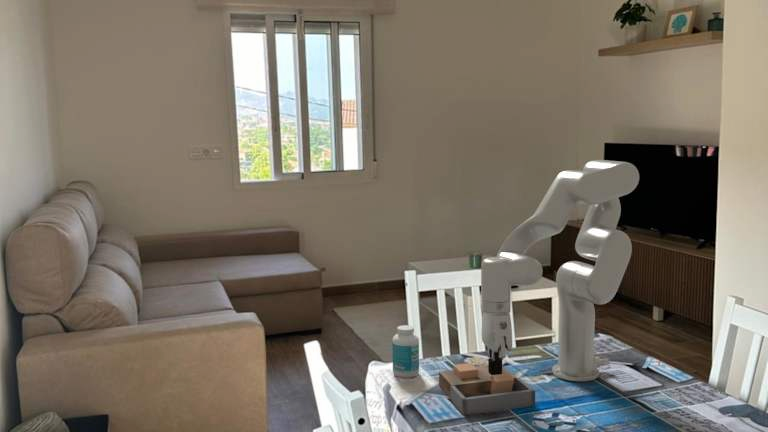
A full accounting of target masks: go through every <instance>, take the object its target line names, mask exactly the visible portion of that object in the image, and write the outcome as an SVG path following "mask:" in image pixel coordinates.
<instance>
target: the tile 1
mask: <svg viewBox="0 0 768 432" xmlns="http://www.w3.org/2000/svg"><path fill="white" fill-rule="evenodd" d="M476 367H477V366H475V365H474V364H473V363H471V362H467V363H460V364H459V363H458V364H453V369H452V370H453V372H454V373H455V374H456V375H457V376H458V377H459V378H460V379H463V378H472V377H478V369H477V368H476Z"/></svg>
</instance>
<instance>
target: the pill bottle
mask: <svg viewBox="0 0 768 432" xmlns="http://www.w3.org/2000/svg"><path fill="white" fill-rule="evenodd" d="M396 332H397V333H396V334H395V335H394V336H393V337H392V373H393V375H394V376H396V377H398V378H404V379H407V378H408V379H409V378H413V377H416V376H418V375H419V373H420V341H419V340H420V338H419V337H418V335H416V334H415V333H414V332H415V327H414V326H412V325H405V324H404V325H399V326H397V328H396Z"/></svg>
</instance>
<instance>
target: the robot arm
mask: <svg viewBox="0 0 768 432" xmlns="http://www.w3.org/2000/svg"><path fill="white" fill-rule="evenodd" d="M639 181H640V173H639V170H638V169H637V166H635V165H634V164H633V163H631V162H627V161H619V160H618V161H617V160H608V159H606V160H605V159H595V160H594V159H593V160H590V161H588V162H586V164H584V166H583V169H582V170H573V169H571V170H570V169H567V170H563V171H561V172H559V173H558V174H557V176H556V177H555V178H554V179H553V181H552V183H551V185H550V186H549V188H548V190H547V192H546V194H545V195H544V197H543V198H542V200H541V202H540V203H539V205H538V206H537V208H536V210H535V212H534V214H533V215H531V216H530V217H529V218H528V219H526V220H525V221H523V222H522V223H521V224H520V225H519V226H517V227H516V228H515V229H514V230H513V231H511V232H510V234H508V236H507V237H506V238H505V241H504V242H503V243H502V245H501V247H500V248H499V250H498V252H497V255H496V256H494V257H493V256H491V257H487V258H484V259H483V260H482V261H481V264H480V265H481V268H480V272H481V273H480V282H481V283H480V300H481V301H480V311H481V313H482V315H481V316H482V317H481V341H482V343H483V344H484V345H485V346H486V348H487V358H488V365H487V366H488V372H489V373H490V374H491V375H499V374H502V365H503V360H504V358H506V357H507V351H508V352H511V351H512V350H513V329H512V327H513V326H512V320H511V319H512V318H511V302H512V301H511V299H512V298H511V295H512V290H511V289H512V286H523V287H527V286H532V285H535V284H537V283H538V282H539V281H540V280H541V278H542V276H543V271H544V270H543V266H542V264H541V262H540V261H538V260H537V259H536V258H534V257H532V256H528V255H525V254H526V252H527V251H528V250H529V249H530V248H531V246H533V245H534V244H536V243H537V242H539V241H541V240H543V239H548V238H550V237H552V236H555V235H558V234H561V232H562V231H563V230H564V229H565V227H566V225H567V223H568V222H569V220H570V218H571V217H572V214H573V213H574V212H575V210H576V208H577V207H578V205H579V204H581V205H588V208H587V209H588V210H587V212H586V215H585V217H584V220H583V221H582V222H583V223H582V225H581V227H580V228H579V229H580V230H579V232H578V234H577V237H576V240H575V245H574V249H575V252H576V253H577V254H578V255H579V256H580V257H582V258H584V259H587V260H590V261H593V262H595V265H593V264H589V263H585V262H582V261H578V260H571V261H567V262H565V263H562V265H560V267H559V268H558V270H557V272H556V275H555V276H556V278H555V284H556V285H555V286H556V290H557V296H558V345H557V346H558V348H557V350H558V353H557V357H558V358H557V363H556V364H554V365H552V368H551V369H552V372H551V373H552V374H553V375H554V376H555V377H557V378H560V379H561V380H562V379H563V380H565V381H571V382H579V383H580V382H582V383H583V382H591V381H594V380H596V379H598V378H599V376H600V370H599V369H598V368H600V367H601V366H602V367H604V366H606V367H607V366H610V363H611V362H610V359H609V358H608V357H606V358H600V356H595V329H596V328H595V326H596V324H595V321H596V312H595V311H596V310H595V305H605V304H607V303H609V302H611V300H613V299H614V297H615V296H616V293H617V292H618V289H619V287H620V285H621V282H622V281H623V277H624V275H625V273H626V271H627V267H628V265H629V263H630V260H631V256H632V251H633V246H632V241H631V238H630V237H629V236H628V234H627V233H625V232H624V231H622V230H620V229H617V225H618V223H619V220H620V217H621V212H622V211H621V210H622V208H621V207H622V206H621V202H620V199H619V198H620V197H623V196H627V195H629V194H630V193H632V192H633V191H634V190H635V189H636V188H637V186H638V184H639V183H640V182H639ZM594 304H595V305H594ZM506 350H507V351H506ZM594 356H595V357H594Z"/></svg>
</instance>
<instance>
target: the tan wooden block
mask: <svg viewBox="0 0 768 432" xmlns="http://www.w3.org/2000/svg"><path fill="white" fill-rule="evenodd" d="M475 367H476V368H477V369H478V377H472V378H463V379H460V378H459V377H458V376H457V375H456V374H455V373H454V372H453V369H449V370H440V371H438V386H439V388H440V389H441V390H442V391H443V392H444V394H446V395H447V396H448V398H449V399H450V386H455V387H456V388H457V389H458V390H459V391H460V392H461V393H462V394H463V395H464V396H465V397H468V396H476V395H484V394H491V393H490V389H491V383H492V378H493V377H494V376H503V375H512V377H513V379H514V383H513V388H512V391H515V390H516V378H518V377H517V376H516V375H515V374H513V373H512V372H511V371H510V370H509V369H507V368H506V366H504V364H502V374H499V375H491V374H490V373H489V372H488V365H485V366H484V365H483V366H475Z"/></svg>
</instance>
